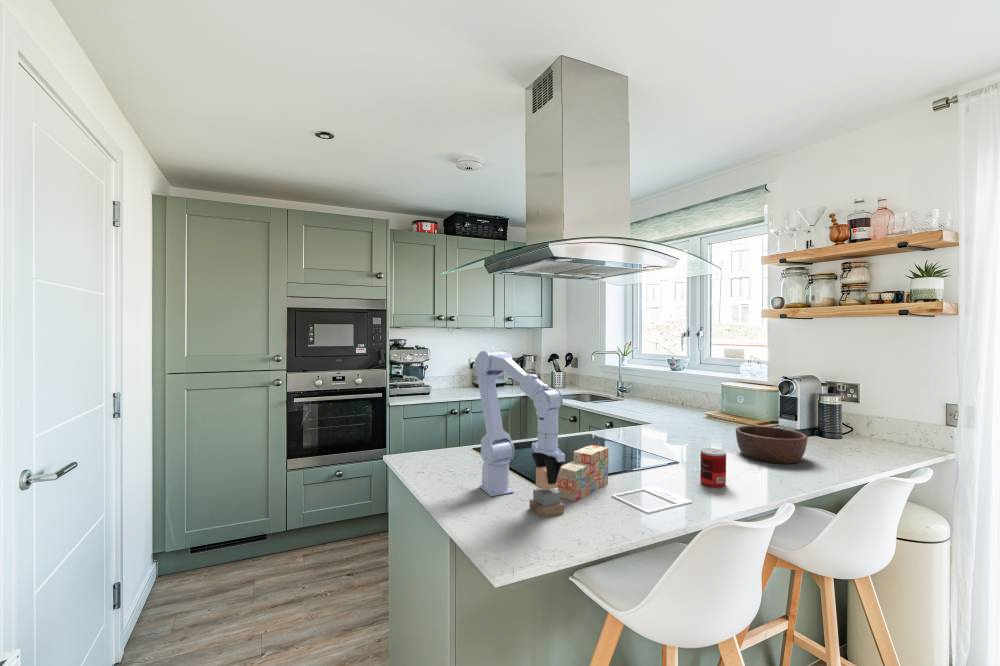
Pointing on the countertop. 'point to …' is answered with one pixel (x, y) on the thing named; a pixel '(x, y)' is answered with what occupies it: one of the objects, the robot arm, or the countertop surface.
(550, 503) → the gray top block
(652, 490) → the photo frame
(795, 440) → the wooden bowl
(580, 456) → the stack of blocks
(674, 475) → the countertop surface
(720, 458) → the canned food
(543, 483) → the terracotta block
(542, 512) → the walnut base block
